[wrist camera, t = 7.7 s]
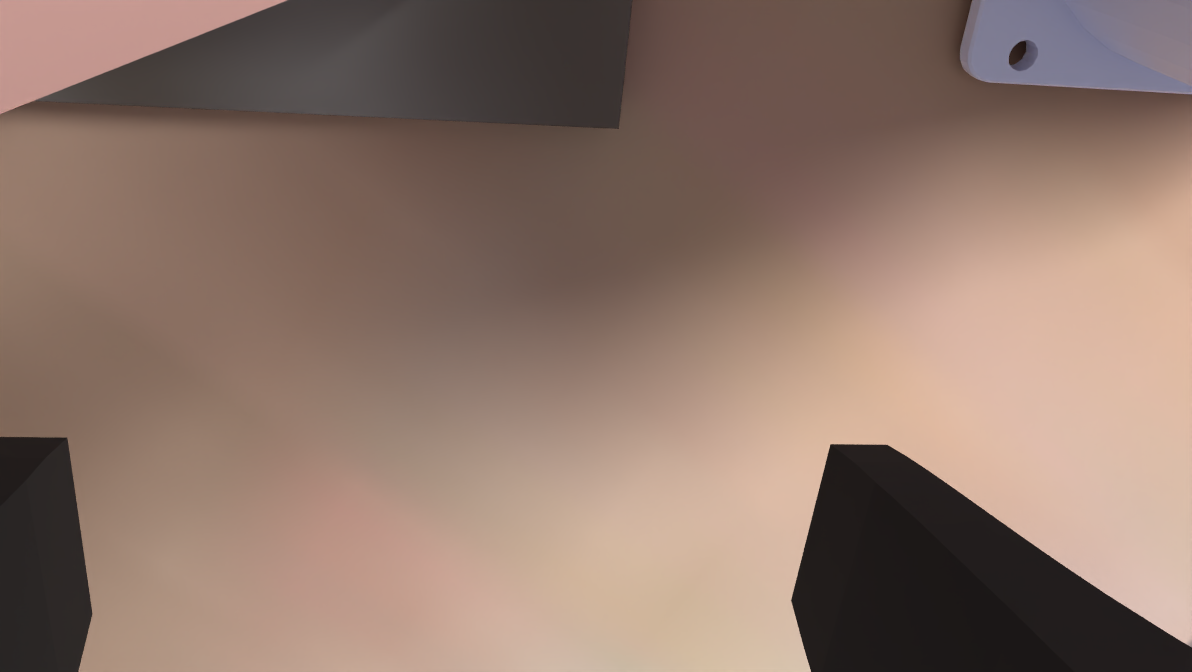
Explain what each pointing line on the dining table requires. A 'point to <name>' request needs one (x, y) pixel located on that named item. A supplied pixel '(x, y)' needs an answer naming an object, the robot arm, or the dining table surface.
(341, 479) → the dining table surface
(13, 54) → the coral block
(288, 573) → the dining table surface
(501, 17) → the base
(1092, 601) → the robot arm
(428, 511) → the dining table surface
